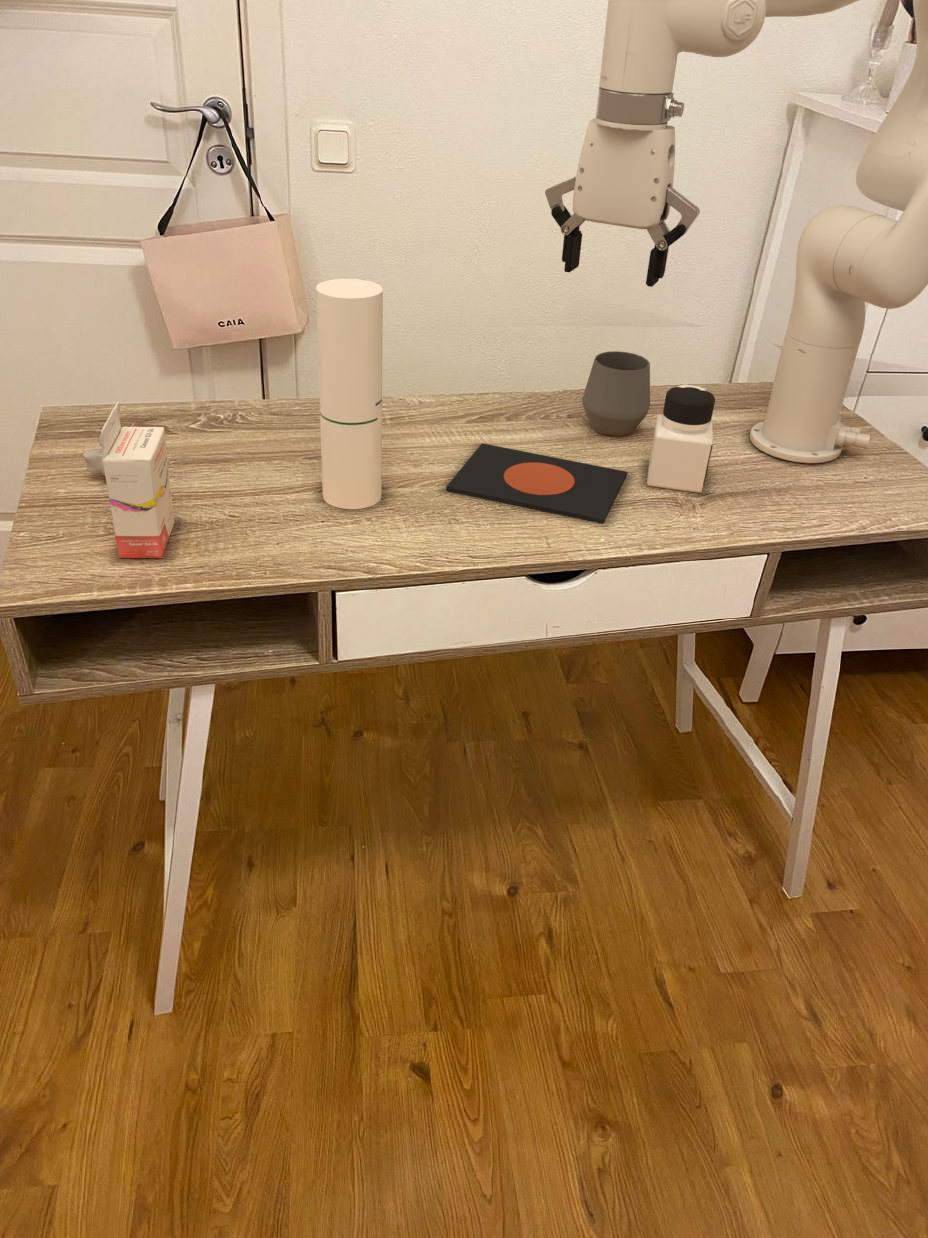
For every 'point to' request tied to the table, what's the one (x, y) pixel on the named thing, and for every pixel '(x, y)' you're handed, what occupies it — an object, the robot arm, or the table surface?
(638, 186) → the robot arm
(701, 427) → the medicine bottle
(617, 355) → the cup
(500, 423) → the table surface
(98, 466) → the rubber duck
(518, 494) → the mat
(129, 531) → the ink cartridge box
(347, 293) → the cylindrical container
